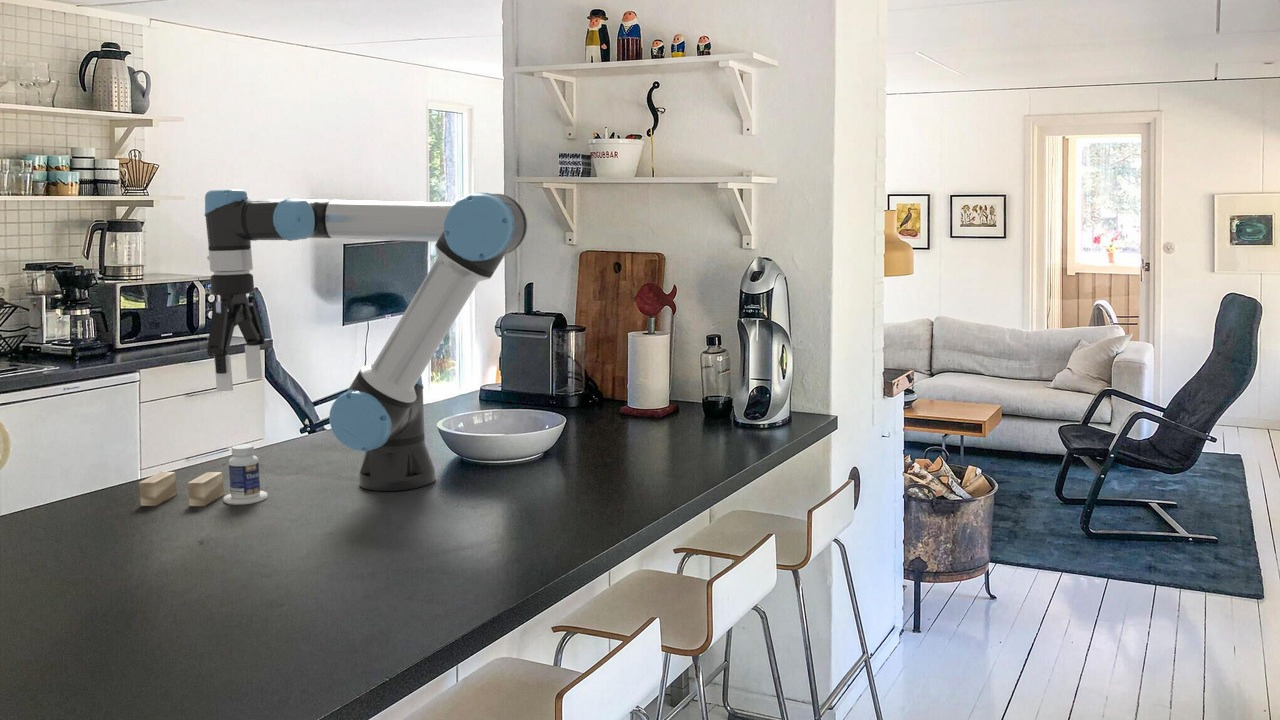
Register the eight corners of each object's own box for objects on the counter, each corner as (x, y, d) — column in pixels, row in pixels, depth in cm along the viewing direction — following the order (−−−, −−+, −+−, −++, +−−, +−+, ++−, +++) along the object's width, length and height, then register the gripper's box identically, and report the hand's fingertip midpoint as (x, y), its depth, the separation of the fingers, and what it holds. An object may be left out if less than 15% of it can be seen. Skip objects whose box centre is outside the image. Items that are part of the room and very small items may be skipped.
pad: (274, 493, 211) (274, 490, 211) (257, 504, 203) (257, 501, 203) (234, 493, 212) (234, 490, 212) (216, 504, 204) (216, 501, 204)
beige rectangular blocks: (223, 494, 211) (222, 472, 210) (204, 506, 203) (203, 482, 202) (162, 494, 212) (160, 472, 211) (140, 505, 204) (138, 482, 203)
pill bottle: (250, 500, 204) (247, 450, 203) (225, 498, 205) (221, 449, 204) (266, 492, 209) (263, 443, 208) (241, 491, 211) (238, 442, 209)
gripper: (239, 268, 214) (247, 373, 217) (180, 278, 190) (190, 396, 193) (276, 268, 214) (284, 373, 217) (222, 277, 189) (231, 395, 192)
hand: (240, 384), depth 205 cm, fingers open, 13 cm apart
